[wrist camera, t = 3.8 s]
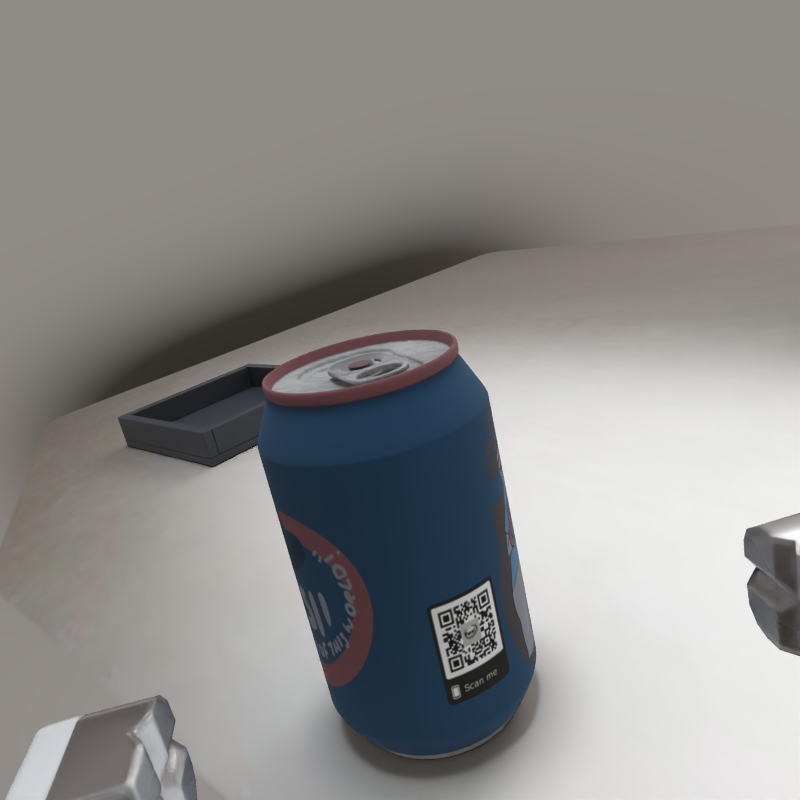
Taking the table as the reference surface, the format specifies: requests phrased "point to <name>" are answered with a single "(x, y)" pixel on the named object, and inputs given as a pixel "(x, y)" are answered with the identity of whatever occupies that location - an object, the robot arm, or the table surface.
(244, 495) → the table surface
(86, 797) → the robot arm
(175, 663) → the table surface
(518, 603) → the soda can
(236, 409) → the tray
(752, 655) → the table surface
